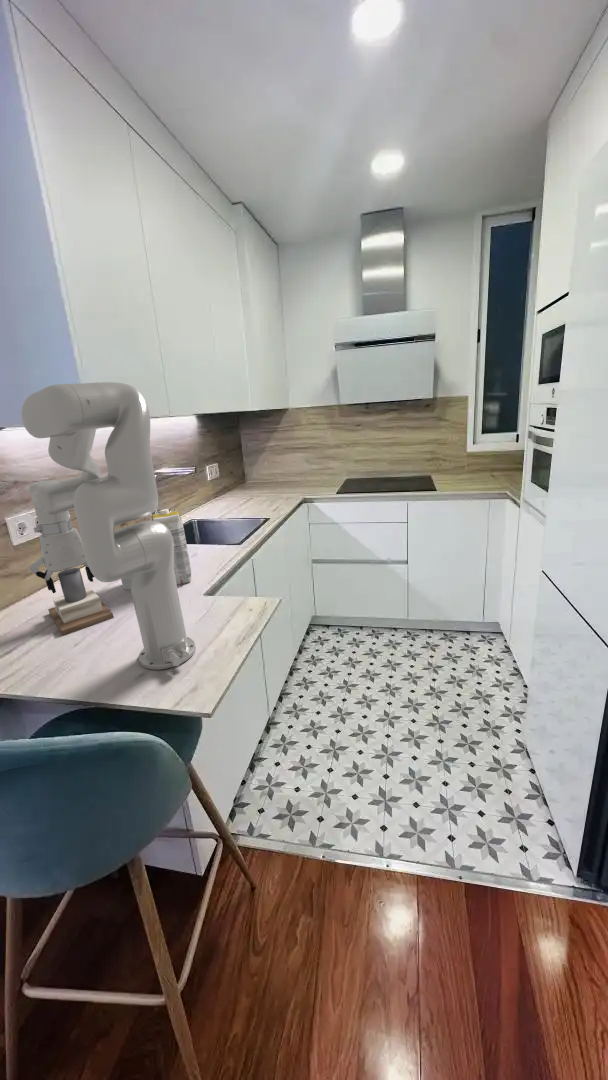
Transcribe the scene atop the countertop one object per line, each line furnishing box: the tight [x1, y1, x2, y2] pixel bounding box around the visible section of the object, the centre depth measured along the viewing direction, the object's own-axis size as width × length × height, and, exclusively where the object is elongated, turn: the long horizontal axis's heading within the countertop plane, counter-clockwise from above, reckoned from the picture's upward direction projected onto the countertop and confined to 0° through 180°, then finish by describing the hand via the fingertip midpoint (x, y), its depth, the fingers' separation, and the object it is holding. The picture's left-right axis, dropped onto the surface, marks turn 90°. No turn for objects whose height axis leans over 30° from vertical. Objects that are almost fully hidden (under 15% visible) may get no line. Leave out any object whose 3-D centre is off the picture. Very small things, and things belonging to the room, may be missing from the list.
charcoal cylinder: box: [57, 567, 87, 603], centre depth 122 cm, size 6×6×8 cm
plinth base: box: [47, 587, 114, 636], centre depth 124 cm, size 18×13×6 cm
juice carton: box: [151, 508, 192, 586], centre depth 140 cm, size 9×8×24 cm
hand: (72, 585), depth 122 cm, fingers open, 9 cm apart
